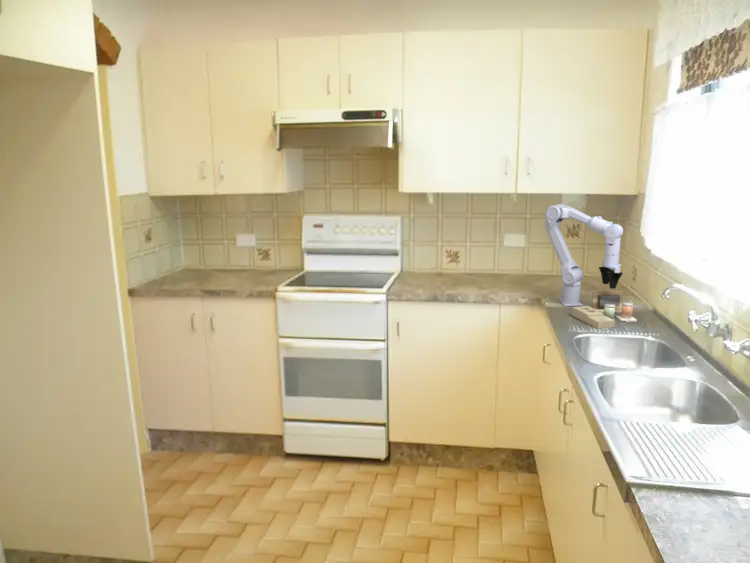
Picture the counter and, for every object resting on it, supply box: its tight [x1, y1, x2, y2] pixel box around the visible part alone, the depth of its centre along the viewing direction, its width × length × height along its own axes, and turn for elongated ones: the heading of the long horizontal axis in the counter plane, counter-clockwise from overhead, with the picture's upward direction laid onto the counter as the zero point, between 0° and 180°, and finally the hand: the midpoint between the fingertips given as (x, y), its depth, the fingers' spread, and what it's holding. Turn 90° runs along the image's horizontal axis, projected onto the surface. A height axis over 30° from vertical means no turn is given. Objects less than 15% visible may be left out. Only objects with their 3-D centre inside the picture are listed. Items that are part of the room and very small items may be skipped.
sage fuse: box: [603, 303, 616, 320], centre depth 230 cm, size 4×4×6 cm
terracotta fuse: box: [620, 301, 634, 319], centre depth 229 cm, size 4×4×6 cm
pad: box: [615, 315, 638, 323], centre depth 230 cm, size 6×6×1 cm
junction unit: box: [590, 290, 624, 313], centre depth 241 cm, size 5×12×8 cm, turn 89°
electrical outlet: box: [571, 305, 616, 330], centre depth 228 cm, size 7×4×18 cm
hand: (609, 286), depth 240 cm, fingers open, 7 cm apart
